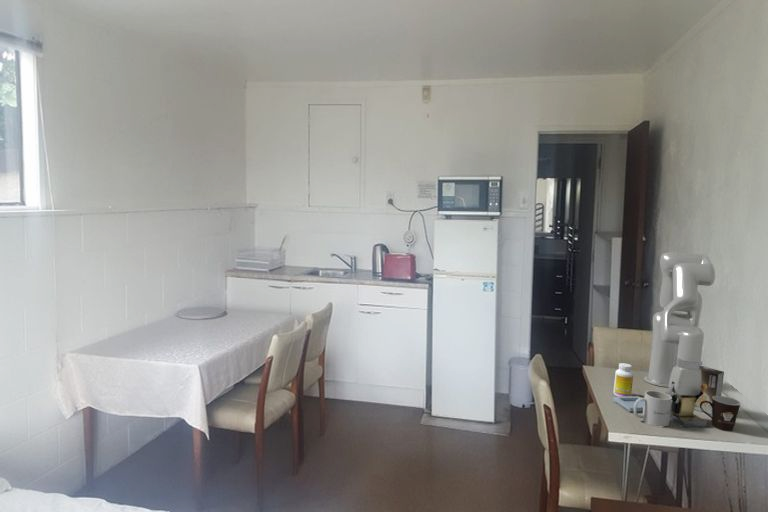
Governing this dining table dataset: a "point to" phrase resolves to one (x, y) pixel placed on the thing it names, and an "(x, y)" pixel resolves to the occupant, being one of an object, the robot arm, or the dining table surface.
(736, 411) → the coffee mug
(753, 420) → the dining table surface
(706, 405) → the coffee box
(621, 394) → the supplement bottle
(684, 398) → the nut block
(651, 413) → the mug
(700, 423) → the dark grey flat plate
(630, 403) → the parts tray
